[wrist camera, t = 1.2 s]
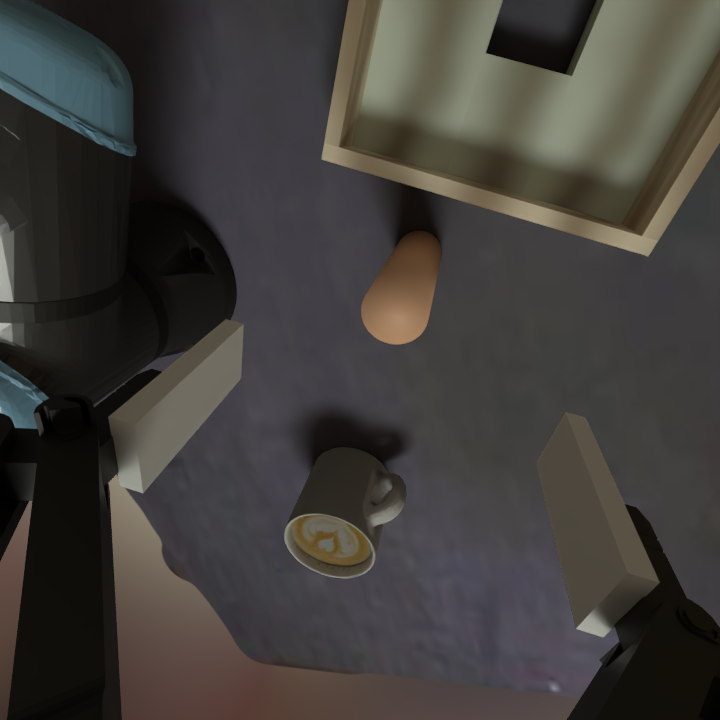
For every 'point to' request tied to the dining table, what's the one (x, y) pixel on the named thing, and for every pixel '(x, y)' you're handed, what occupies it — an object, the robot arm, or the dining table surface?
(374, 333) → the peg
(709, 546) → the dining table surface
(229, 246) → the dining table surface
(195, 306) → the robot arm
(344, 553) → the coffee mug
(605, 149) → the box
